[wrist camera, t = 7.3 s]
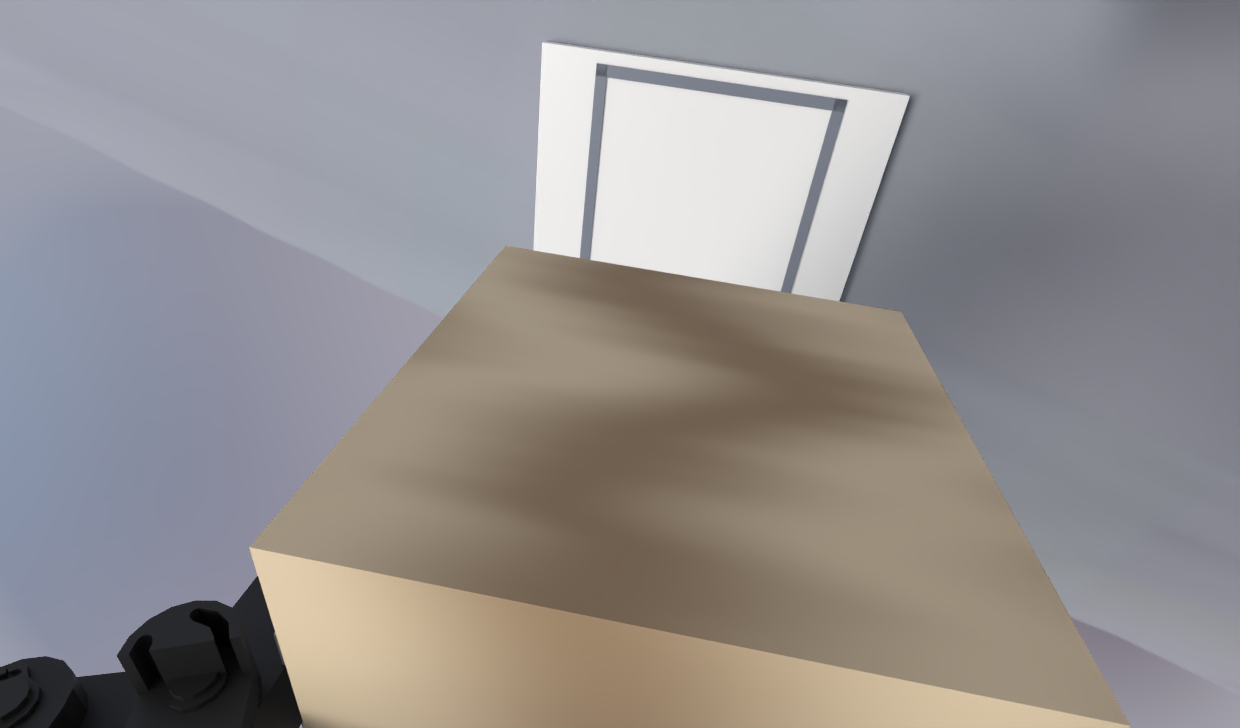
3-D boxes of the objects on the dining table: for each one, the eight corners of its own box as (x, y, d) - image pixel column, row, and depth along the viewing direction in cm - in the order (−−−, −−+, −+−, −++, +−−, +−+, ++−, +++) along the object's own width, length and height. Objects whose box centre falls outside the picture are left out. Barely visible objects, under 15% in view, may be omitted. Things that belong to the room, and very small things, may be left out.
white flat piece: (905, 93, 27) (910, 96, 26) (824, 331, 33) (826, 339, 32) (546, 41, 28) (541, 42, 27) (535, 282, 34) (531, 289, 33)
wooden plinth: (901, 311, 12) (1130, 725, 5) (792, 577, 16) (842, 993, 10) (506, 245, 12) (249, 546, 6) (501, 520, 17) (351, 879, 10)
